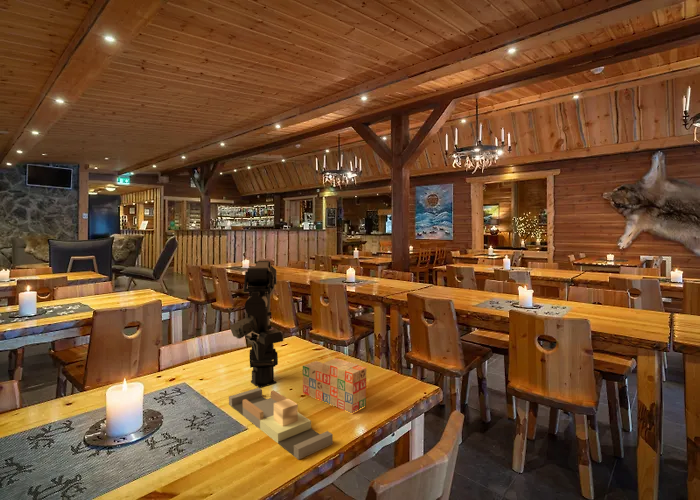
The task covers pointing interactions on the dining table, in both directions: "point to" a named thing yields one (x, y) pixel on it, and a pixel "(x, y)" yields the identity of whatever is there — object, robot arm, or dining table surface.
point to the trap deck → (291, 436)
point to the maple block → (285, 412)
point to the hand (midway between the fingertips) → (259, 359)
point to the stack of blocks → (336, 383)
